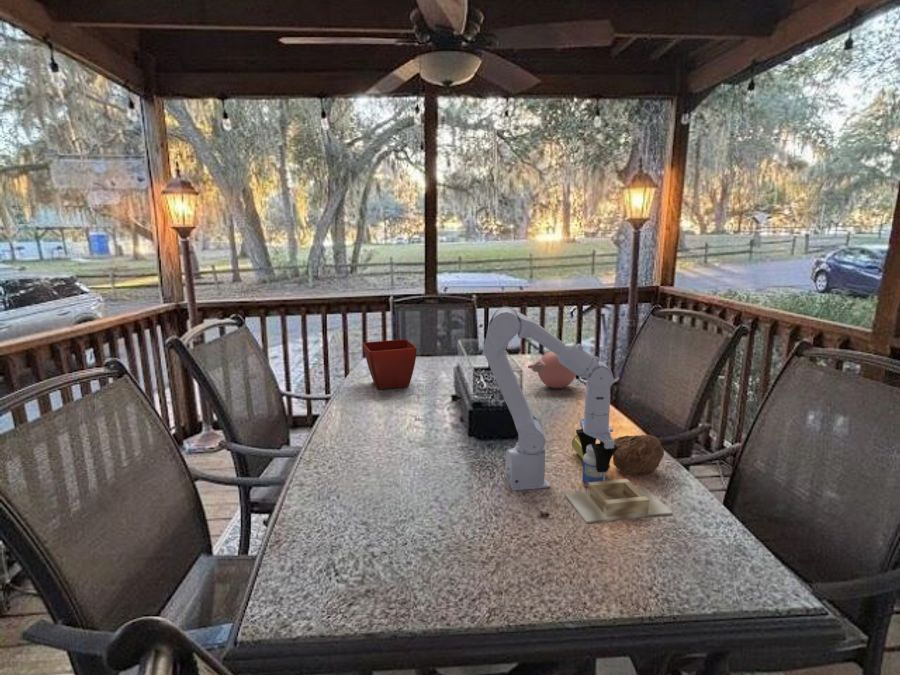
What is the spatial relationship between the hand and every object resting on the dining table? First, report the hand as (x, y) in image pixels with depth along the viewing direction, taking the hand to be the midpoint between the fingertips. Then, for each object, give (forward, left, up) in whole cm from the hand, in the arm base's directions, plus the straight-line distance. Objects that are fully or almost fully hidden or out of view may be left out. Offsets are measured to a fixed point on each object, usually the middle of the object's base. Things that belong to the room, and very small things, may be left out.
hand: (594, 464), depth 124 cm
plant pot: (-45, +96, -5) cm, 106 cm away
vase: (+5, +18, -2) cm, 19 cm away
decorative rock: (+14, +5, -5) cm, 16 cm away
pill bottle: (0, 0, -5) cm, 5 cm away
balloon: (+18, +78, -5) cm, 80 cm away
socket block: (+1, -10, -5) cm, 11 cm away
